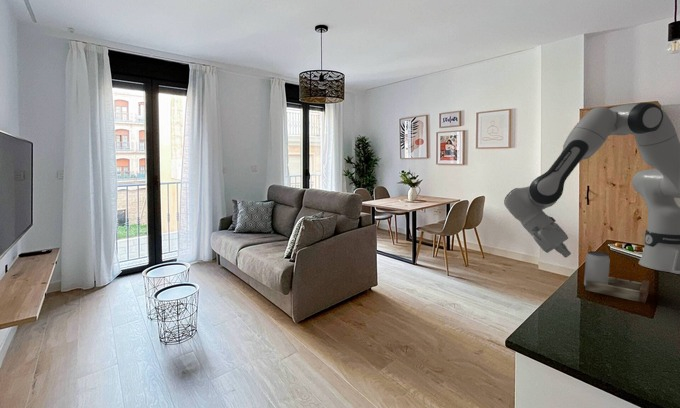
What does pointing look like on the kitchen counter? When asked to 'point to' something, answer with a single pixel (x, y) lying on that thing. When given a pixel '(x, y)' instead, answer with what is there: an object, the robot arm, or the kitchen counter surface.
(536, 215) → the robot arm
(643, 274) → the kitchen counter surface
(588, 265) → the can
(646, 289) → the wooden rack
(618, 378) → the kitchen counter surface
